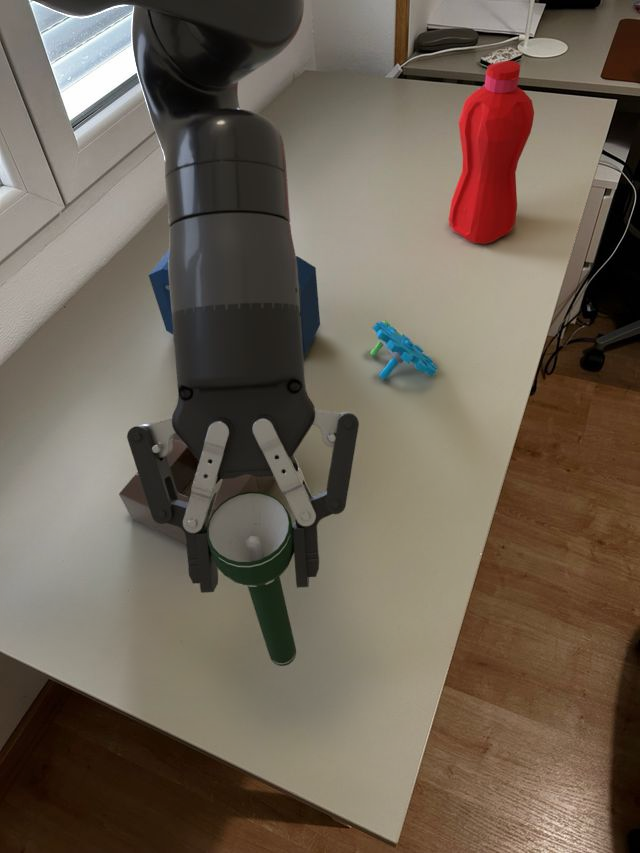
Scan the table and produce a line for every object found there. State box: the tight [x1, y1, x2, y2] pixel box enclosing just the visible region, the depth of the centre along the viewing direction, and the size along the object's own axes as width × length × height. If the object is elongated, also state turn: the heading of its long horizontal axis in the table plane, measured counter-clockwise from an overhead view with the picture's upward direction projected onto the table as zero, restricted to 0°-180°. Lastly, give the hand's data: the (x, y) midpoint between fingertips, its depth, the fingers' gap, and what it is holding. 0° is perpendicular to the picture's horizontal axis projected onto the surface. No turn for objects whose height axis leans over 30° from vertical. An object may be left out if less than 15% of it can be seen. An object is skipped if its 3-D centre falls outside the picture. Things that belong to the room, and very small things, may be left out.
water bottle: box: [448, 60, 535, 245], centre depth 96 cm, size 9×11×25 cm
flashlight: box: [207, 492, 297, 667], centre depth 45 cm, size 5×5×20 cm
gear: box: [369, 320, 439, 381], centre depth 84 cm, size 11×6×10 cm
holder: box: [118, 434, 275, 546], centre depth 72 cm, size 12×12×5 cm
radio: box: [148, 249, 321, 357], centre depth 84 cm, size 21×9×20 cm, turn 72°
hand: (256, 584), depth 39 cm, fingers closed on flashlight, 5 cm apart
